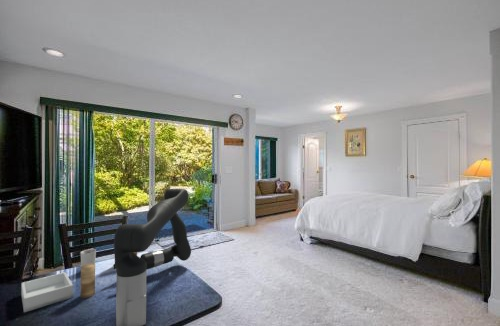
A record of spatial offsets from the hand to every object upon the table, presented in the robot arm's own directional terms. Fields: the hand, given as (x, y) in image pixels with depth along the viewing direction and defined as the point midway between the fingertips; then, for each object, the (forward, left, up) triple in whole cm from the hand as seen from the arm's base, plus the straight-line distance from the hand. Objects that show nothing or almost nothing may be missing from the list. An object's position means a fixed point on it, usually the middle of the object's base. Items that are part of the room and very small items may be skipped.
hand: (116, 269), depth 108 cm
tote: (+11, +23, -7) cm, 26 cm away
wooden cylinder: (0, +11, -7) cm, 13 cm away
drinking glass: (+28, +5, -7) cm, 29 cm away
